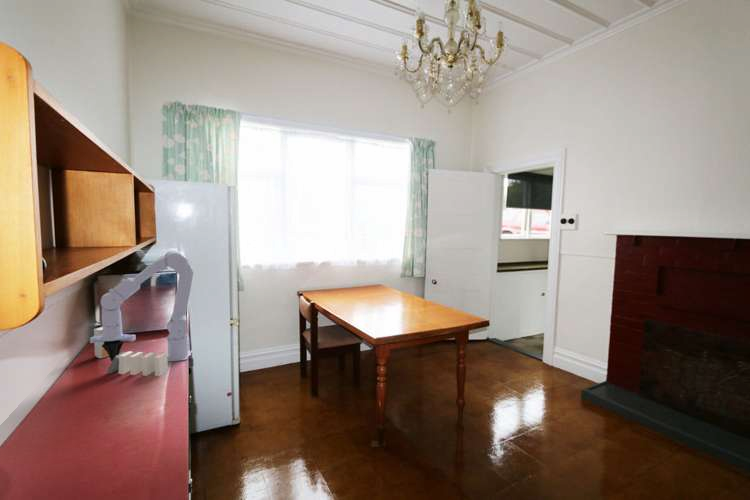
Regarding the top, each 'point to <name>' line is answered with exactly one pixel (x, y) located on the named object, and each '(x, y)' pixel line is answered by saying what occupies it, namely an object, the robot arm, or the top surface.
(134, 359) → the ivory domino
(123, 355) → the ivory domino
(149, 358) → the ivory domino
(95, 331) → the skincare box
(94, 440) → the top surface
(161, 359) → the ivory domino
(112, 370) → the charcoal domino
